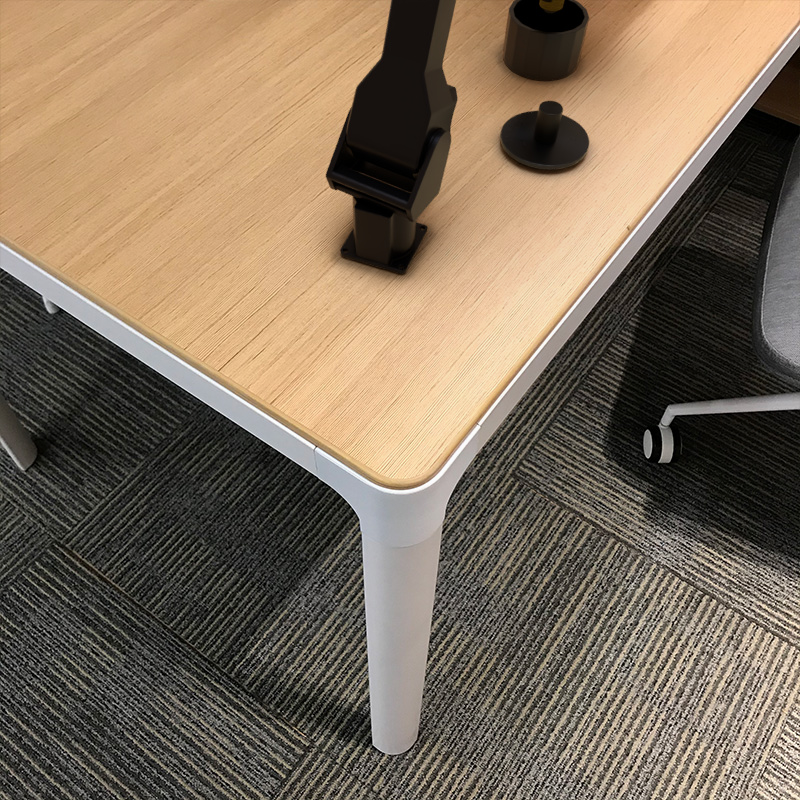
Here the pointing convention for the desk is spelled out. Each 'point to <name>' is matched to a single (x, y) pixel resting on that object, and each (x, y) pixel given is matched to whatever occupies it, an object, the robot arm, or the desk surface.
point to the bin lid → (545, 138)
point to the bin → (544, 39)
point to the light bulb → (552, 6)
